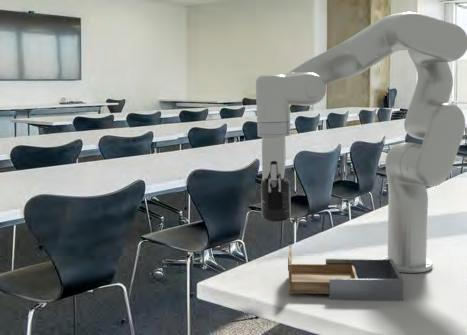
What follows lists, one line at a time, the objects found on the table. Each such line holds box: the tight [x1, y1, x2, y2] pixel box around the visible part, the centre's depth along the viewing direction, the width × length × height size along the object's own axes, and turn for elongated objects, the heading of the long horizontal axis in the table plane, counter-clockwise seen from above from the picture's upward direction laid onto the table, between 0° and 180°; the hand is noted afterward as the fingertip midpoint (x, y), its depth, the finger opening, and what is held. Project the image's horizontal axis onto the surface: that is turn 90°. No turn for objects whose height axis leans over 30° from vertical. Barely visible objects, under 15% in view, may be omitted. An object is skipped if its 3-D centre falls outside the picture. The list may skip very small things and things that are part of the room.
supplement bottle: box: [260, 172, 292, 222], centre depth 136 cm, size 7×7×12 cm
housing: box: [325, 257, 405, 302], centre depth 134 cm, size 15×16×5 cm
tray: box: [287, 244, 358, 296], centre depth 135 cm, size 15×16×7 cm
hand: (276, 205), depth 136 cm, fingers closed on supplement bottle, 6 cm apart
